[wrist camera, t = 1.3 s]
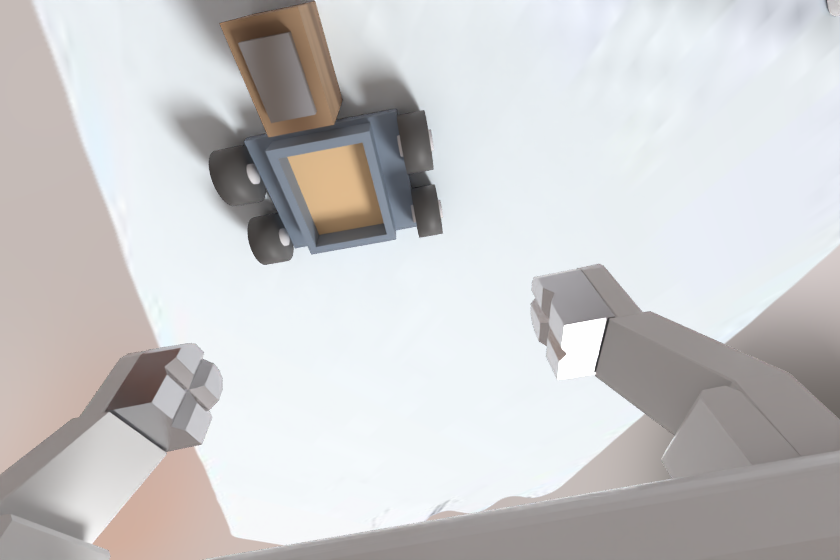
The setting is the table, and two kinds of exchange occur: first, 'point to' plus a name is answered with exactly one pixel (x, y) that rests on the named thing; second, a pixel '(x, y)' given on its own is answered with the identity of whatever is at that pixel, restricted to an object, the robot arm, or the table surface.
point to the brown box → (286, 68)
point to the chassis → (332, 184)
